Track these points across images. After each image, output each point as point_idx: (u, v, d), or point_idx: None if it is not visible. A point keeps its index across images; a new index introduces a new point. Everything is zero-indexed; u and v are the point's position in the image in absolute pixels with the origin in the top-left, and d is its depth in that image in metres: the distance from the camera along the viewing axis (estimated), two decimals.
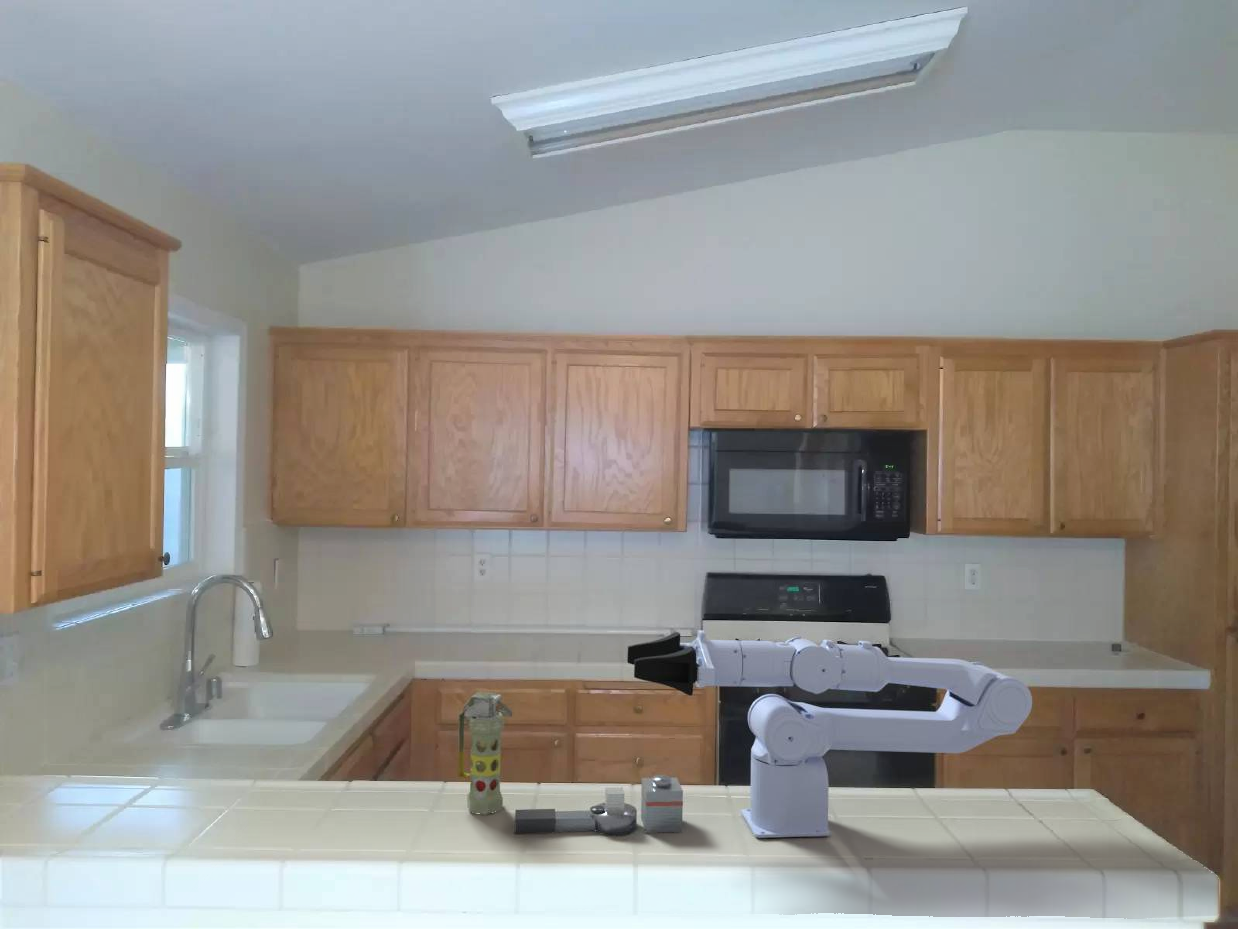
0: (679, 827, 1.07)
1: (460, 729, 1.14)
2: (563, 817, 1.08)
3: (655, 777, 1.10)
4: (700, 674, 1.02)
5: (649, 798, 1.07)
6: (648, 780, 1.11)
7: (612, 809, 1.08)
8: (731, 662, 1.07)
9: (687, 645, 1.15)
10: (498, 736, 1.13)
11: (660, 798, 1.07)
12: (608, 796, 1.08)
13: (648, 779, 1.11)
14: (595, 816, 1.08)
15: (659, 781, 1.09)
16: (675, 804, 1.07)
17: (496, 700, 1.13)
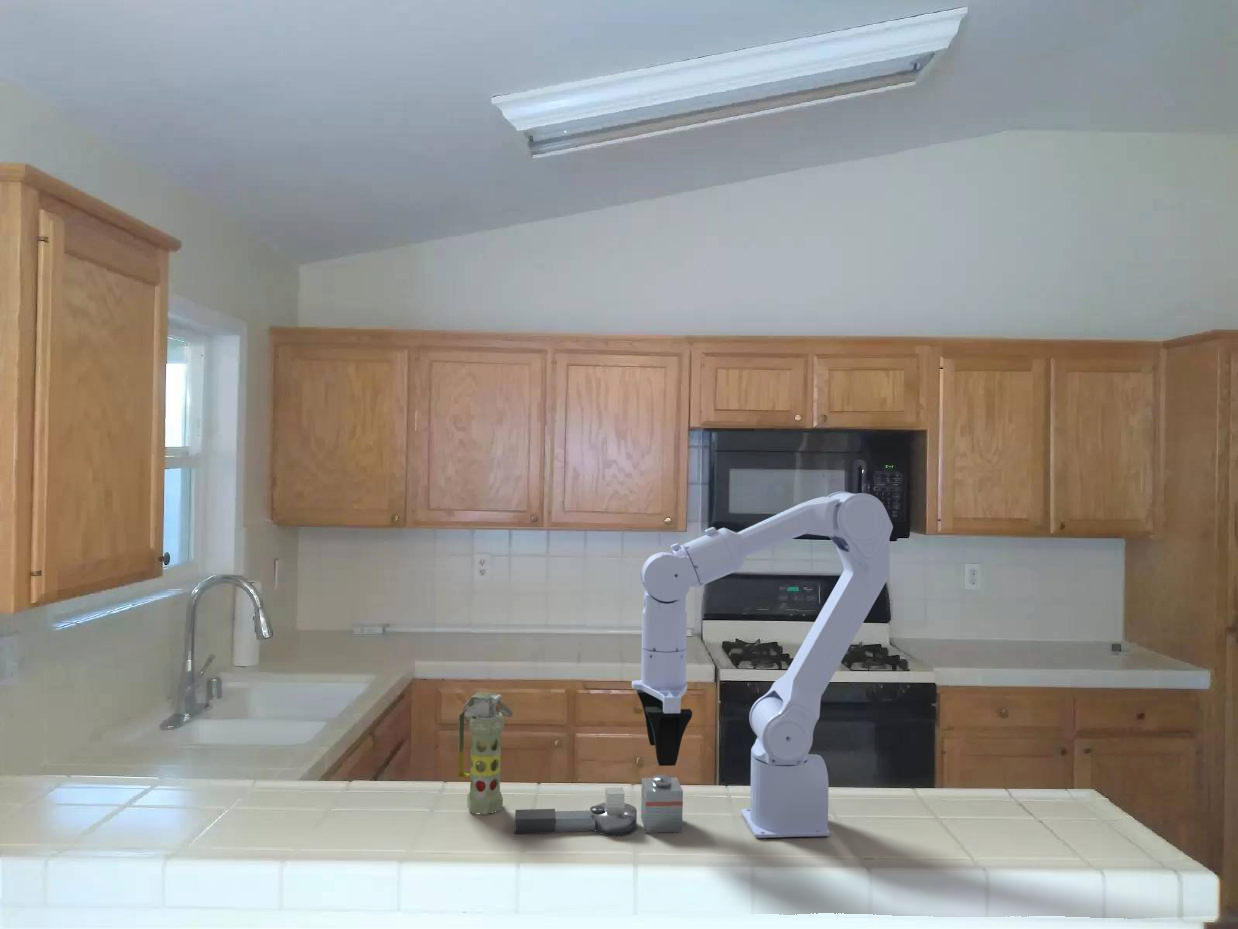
0: (679, 827, 1.07)
1: (460, 729, 1.14)
2: (563, 817, 1.08)
3: (655, 777, 1.10)
4: (670, 712, 1.02)
5: (649, 798, 1.07)
6: (648, 780, 1.11)
7: (612, 809, 1.08)
8: (661, 663, 1.07)
9: None
10: (498, 736, 1.13)
11: (660, 798, 1.07)
12: (608, 796, 1.08)
13: (648, 779, 1.11)
14: (595, 816, 1.08)
15: (659, 781, 1.09)
16: (675, 804, 1.07)
17: (496, 700, 1.13)
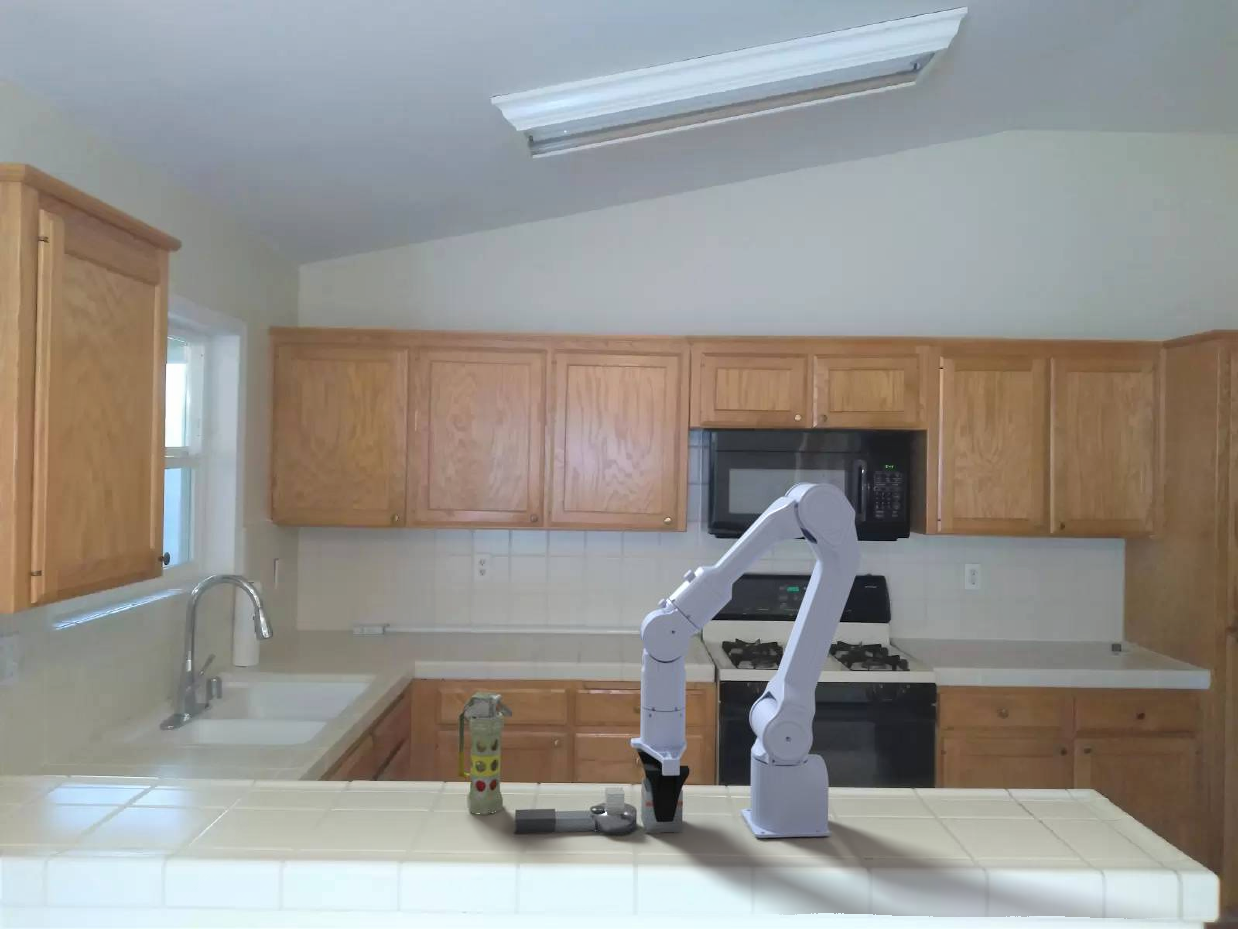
0: (679, 827, 1.07)
1: (460, 729, 1.14)
2: (563, 817, 1.08)
3: None
4: (669, 774, 1.02)
5: (649, 798, 1.07)
6: (648, 780, 1.11)
7: (612, 809, 1.08)
8: (660, 723, 1.07)
9: None
10: (498, 736, 1.13)
11: None
12: (608, 796, 1.08)
13: None
14: (595, 816, 1.08)
15: None
16: None
17: (496, 700, 1.13)
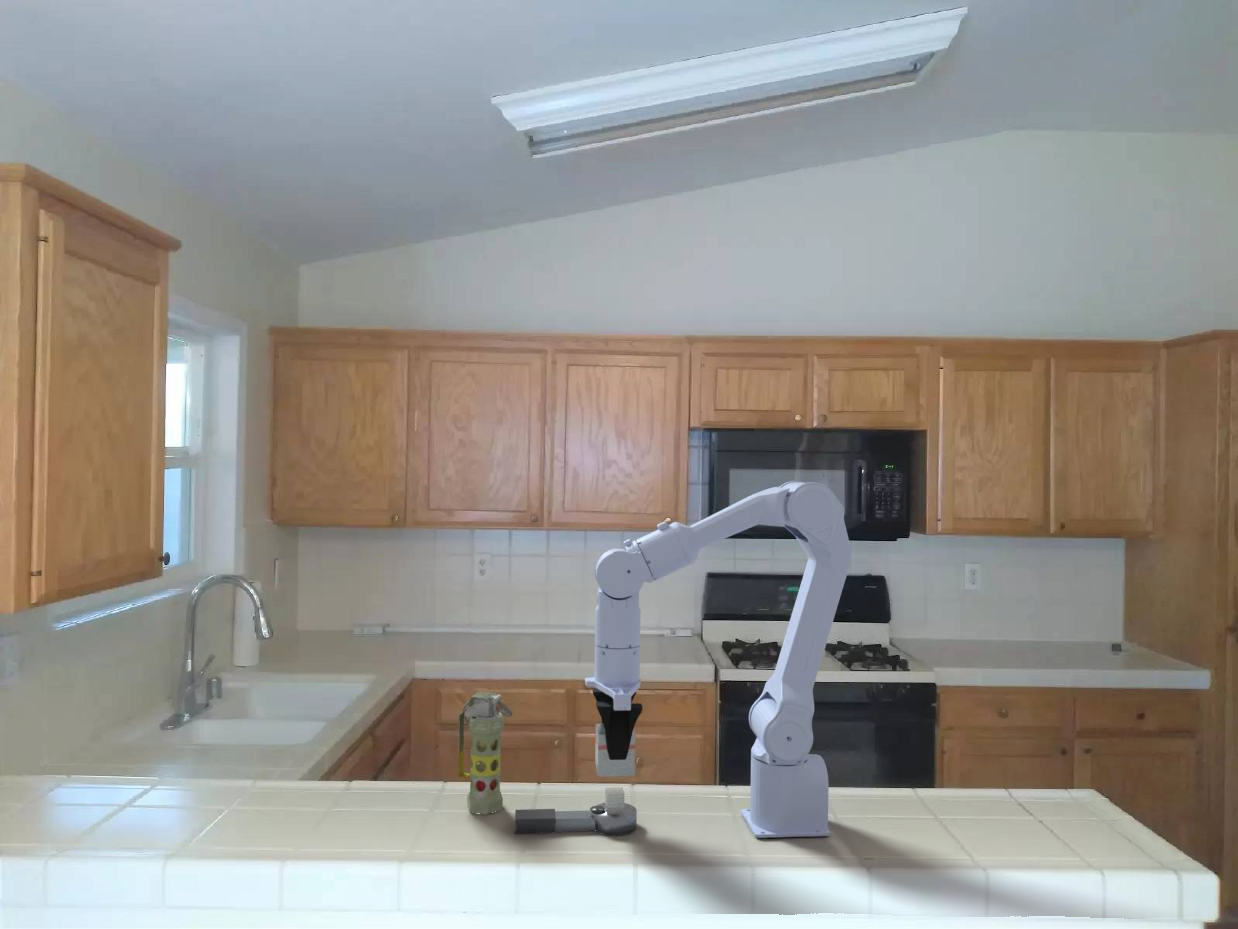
0: (632, 770, 1.07)
1: (460, 729, 1.14)
2: (563, 817, 1.08)
3: None
4: (620, 709, 1.02)
5: (601, 741, 1.07)
6: (602, 725, 1.10)
7: (612, 809, 1.08)
8: (613, 660, 1.06)
9: None
10: (498, 736, 1.13)
11: None
12: (608, 796, 1.08)
13: (602, 724, 1.11)
14: (595, 816, 1.08)
15: None
16: None
17: (496, 700, 1.13)
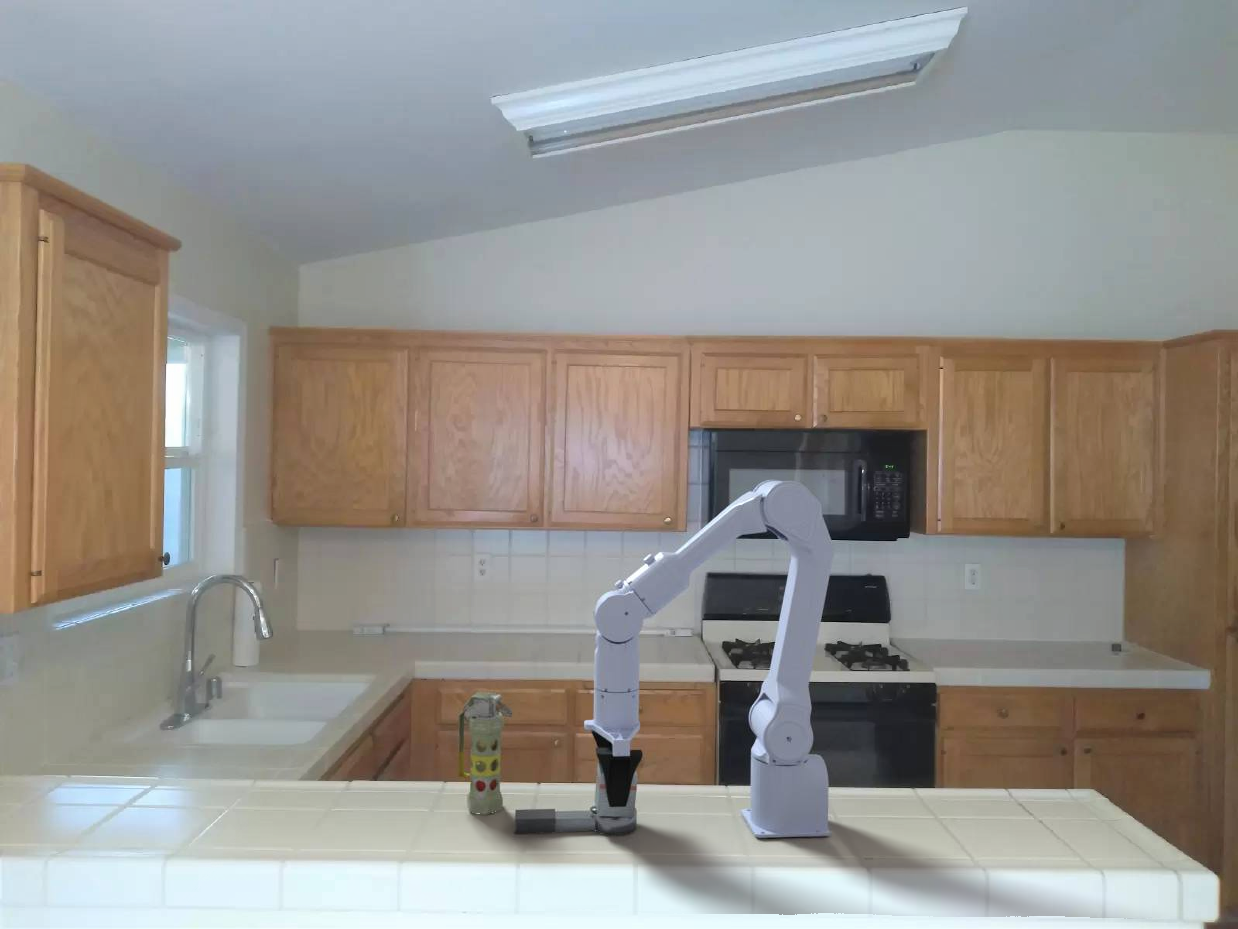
0: (631, 812, 1.07)
1: (460, 729, 1.14)
2: (563, 817, 1.08)
3: None
4: (619, 754, 1.02)
5: (603, 780, 1.07)
6: None
7: None
8: (612, 704, 1.06)
9: None
10: (498, 736, 1.13)
11: None
12: None
13: None
14: (595, 816, 1.08)
15: None
16: None
17: (496, 700, 1.13)
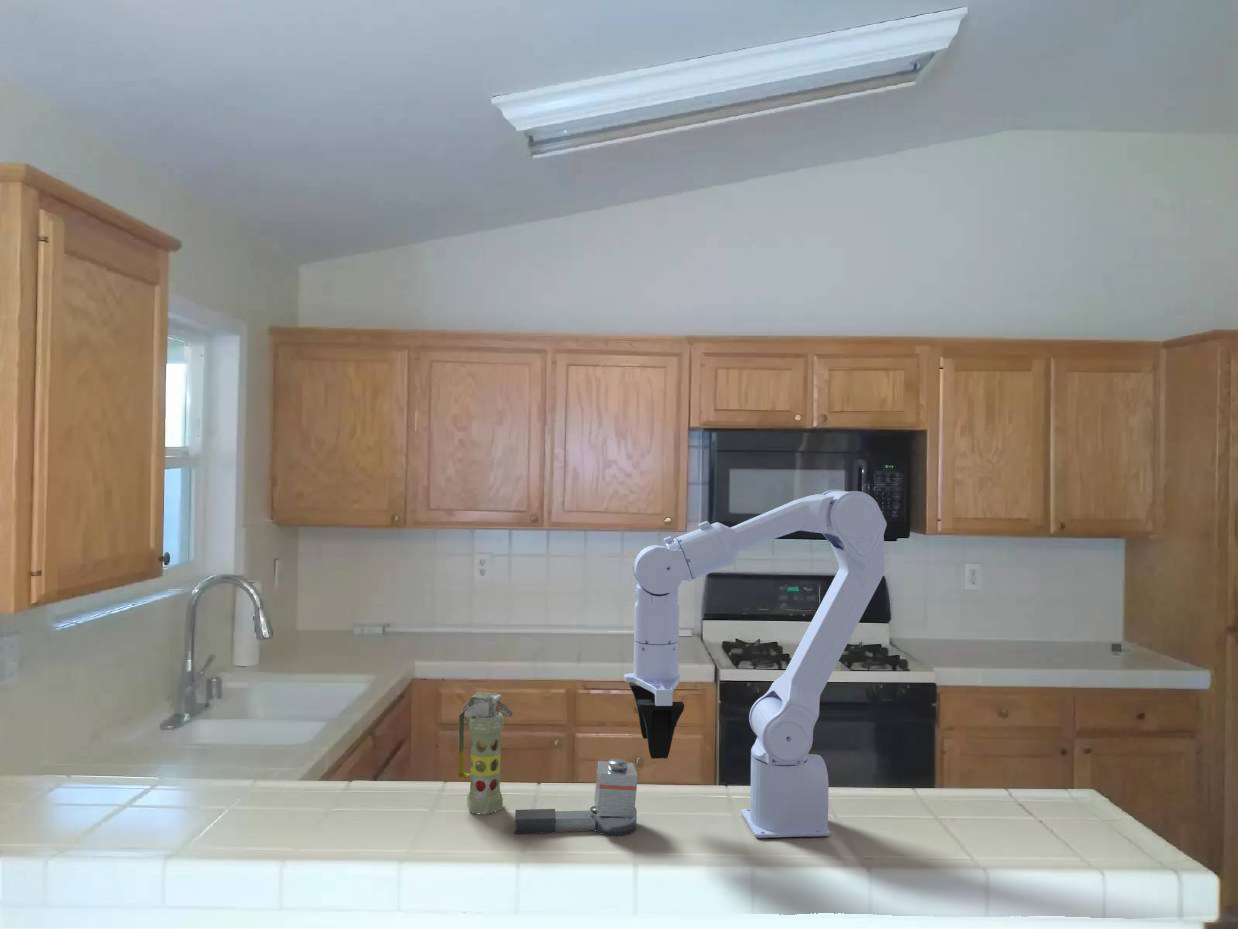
0: (631, 812, 1.07)
1: (460, 729, 1.14)
2: (563, 817, 1.08)
3: (611, 760, 1.09)
4: (662, 704, 1.02)
5: (603, 780, 1.07)
6: (604, 763, 1.10)
7: None
8: (653, 656, 1.07)
9: None
10: (498, 736, 1.13)
11: (614, 781, 1.07)
12: None
13: (604, 762, 1.11)
14: (595, 816, 1.08)
15: (615, 764, 1.08)
16: (629, 789, 1.07)
17: (496, 700, 1.13)
